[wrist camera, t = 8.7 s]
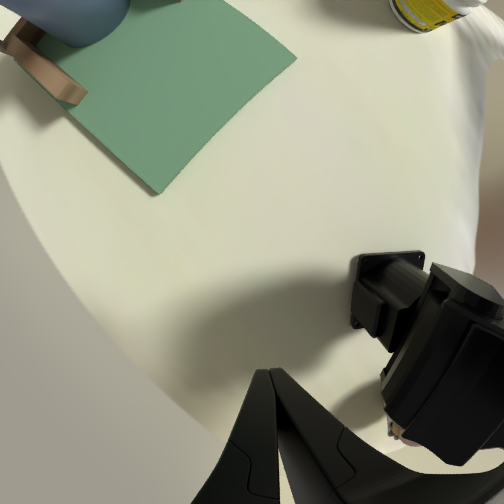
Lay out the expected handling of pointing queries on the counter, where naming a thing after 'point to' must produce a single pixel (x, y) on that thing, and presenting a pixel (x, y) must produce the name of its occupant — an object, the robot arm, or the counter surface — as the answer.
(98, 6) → the blue domed cylinder
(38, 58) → the wooden rack
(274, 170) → the counter surface
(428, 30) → the supplement bottle
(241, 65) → the felt mat
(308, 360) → the counter surface
